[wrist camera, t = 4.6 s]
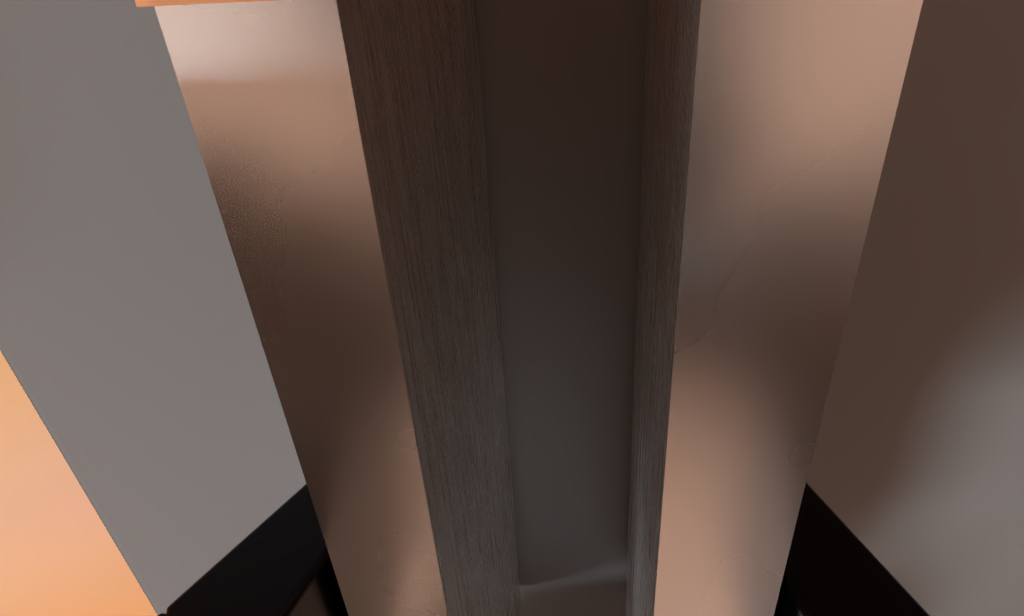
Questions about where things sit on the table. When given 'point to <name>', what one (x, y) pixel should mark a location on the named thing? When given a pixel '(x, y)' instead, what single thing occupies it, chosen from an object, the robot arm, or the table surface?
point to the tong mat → (514, 301)
